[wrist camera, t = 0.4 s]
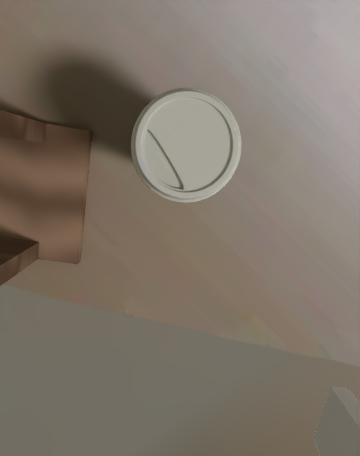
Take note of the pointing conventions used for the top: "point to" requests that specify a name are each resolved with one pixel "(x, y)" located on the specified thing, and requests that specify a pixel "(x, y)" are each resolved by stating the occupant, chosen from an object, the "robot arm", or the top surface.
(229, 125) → the coffee cup
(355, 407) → the robot arm
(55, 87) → the top surface
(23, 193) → the wooden stand
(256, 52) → the top surface
